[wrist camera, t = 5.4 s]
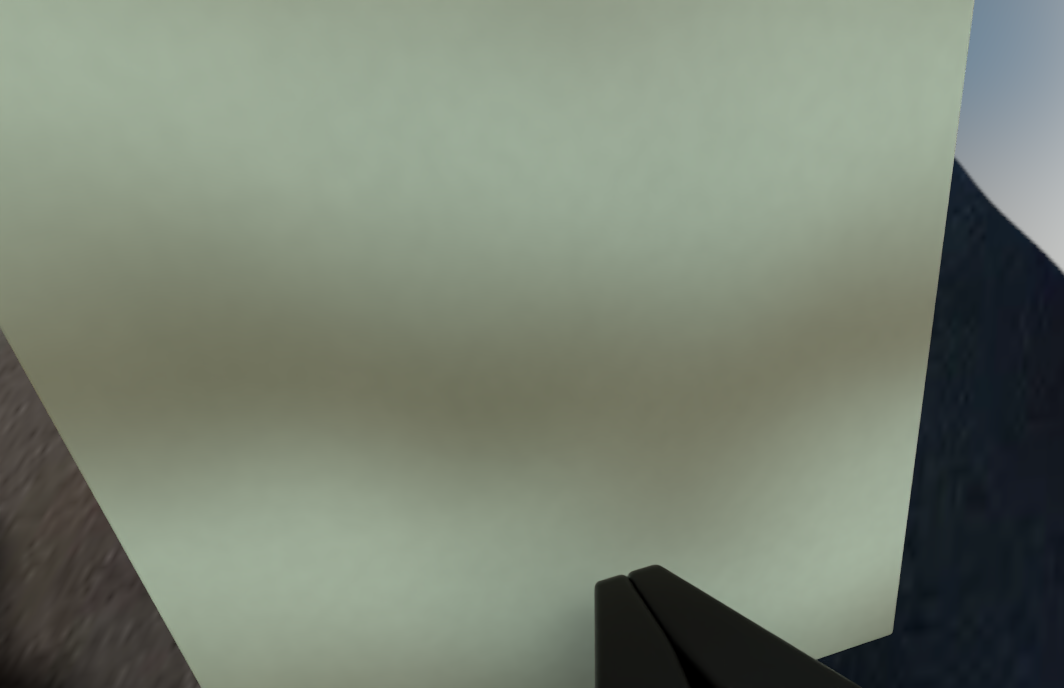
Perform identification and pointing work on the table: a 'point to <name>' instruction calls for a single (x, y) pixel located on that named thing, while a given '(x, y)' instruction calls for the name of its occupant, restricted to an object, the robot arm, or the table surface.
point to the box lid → (480, 312)
